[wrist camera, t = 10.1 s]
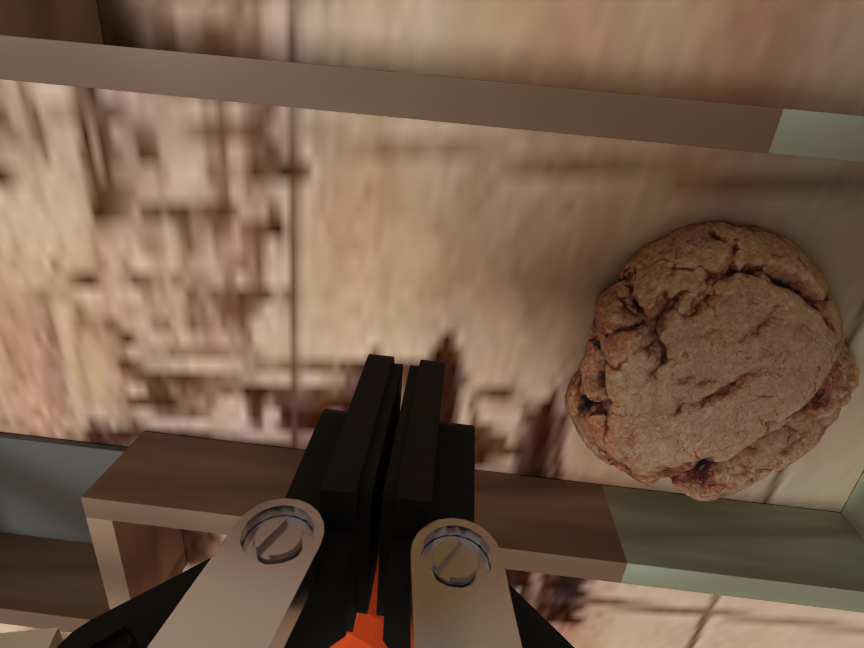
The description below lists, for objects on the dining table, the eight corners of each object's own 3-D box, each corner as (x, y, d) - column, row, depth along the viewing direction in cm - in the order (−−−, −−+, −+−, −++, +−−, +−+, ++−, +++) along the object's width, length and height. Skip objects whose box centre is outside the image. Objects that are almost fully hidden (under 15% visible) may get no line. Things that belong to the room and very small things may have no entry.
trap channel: (-383, -292, 14) (-947, -543, 8) (1306, -164, 12) (1959, -362, 7) (-44, 535, 26) (-179, 651, 21) (813, 641, 25) (908, 796, 20)
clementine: (343, 641, 28) (303, 810, 21) (238, 571, 26) (161, 731, 19) (449, 571, 25) (440, 741, 18) (340, 488, 23) (288, 642, 17)
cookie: (818, 175, 17) (886, 192, 14) (843, 431, 20) (900, 484, 18) (521, 275, 19) (529, 307, 16) (594, 491, 23) (611, 546, 20)
